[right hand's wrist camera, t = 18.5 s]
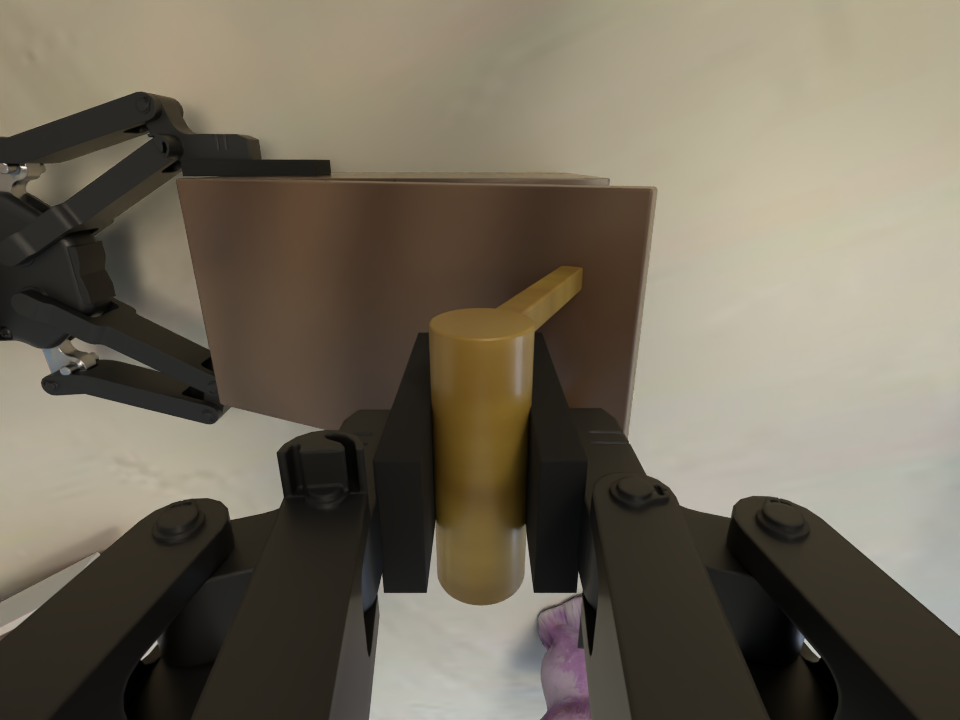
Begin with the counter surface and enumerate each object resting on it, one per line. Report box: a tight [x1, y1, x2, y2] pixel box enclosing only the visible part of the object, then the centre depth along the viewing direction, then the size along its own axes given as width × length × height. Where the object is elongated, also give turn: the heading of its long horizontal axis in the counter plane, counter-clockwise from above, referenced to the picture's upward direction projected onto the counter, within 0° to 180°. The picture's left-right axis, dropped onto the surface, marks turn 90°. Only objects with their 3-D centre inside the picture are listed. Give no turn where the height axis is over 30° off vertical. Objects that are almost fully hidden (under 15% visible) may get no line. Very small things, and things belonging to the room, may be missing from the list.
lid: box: [176, 178, 657, 605], centre depth 16 cm, size 18×10×9 cm, turn 90°
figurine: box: [538, 596, 591, 720], centre depth 39 cm, size 9×10×15 cm
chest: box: [202, 173, 610, 186], centre depth 29 cm, size 18×10×11 cm, turn 90°
